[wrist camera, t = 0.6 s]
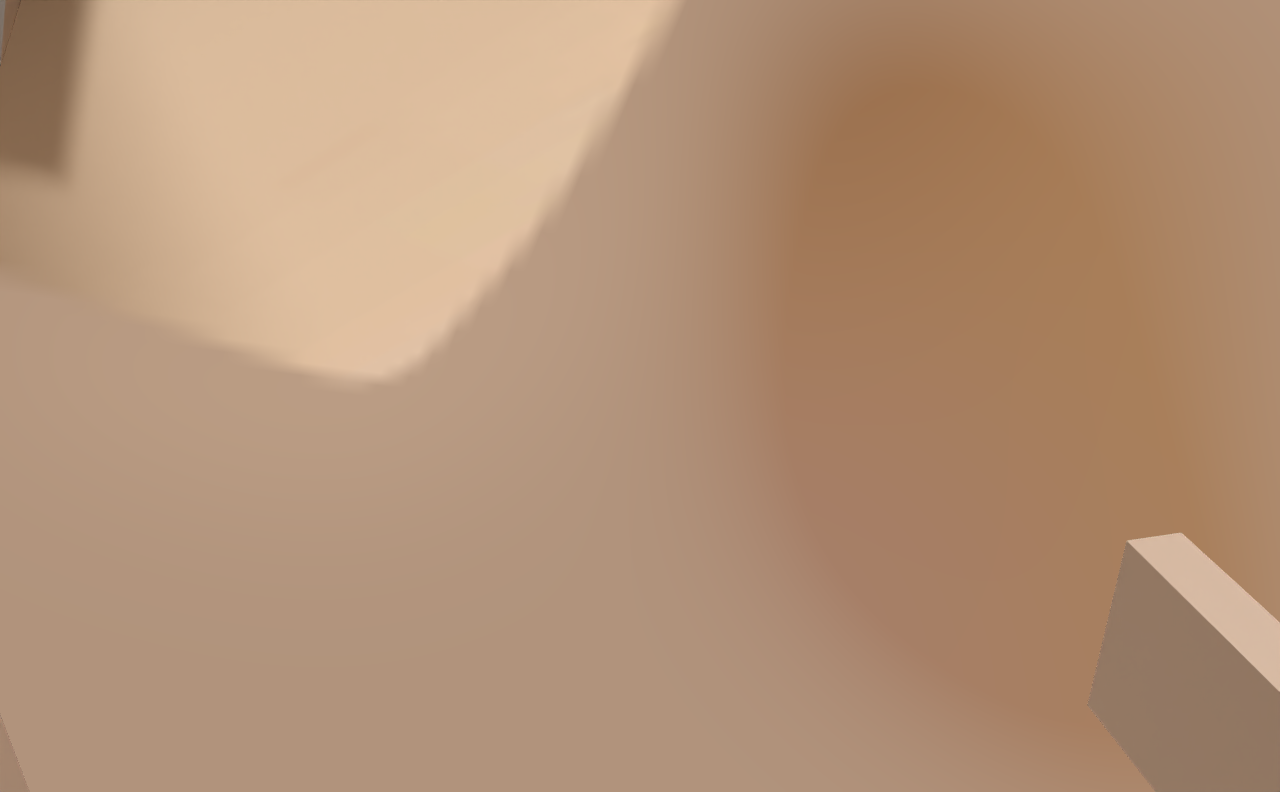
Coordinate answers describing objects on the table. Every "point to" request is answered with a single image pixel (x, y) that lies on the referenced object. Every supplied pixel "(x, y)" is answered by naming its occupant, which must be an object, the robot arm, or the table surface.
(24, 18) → the table surface
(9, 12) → the tray
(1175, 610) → the robot arm
